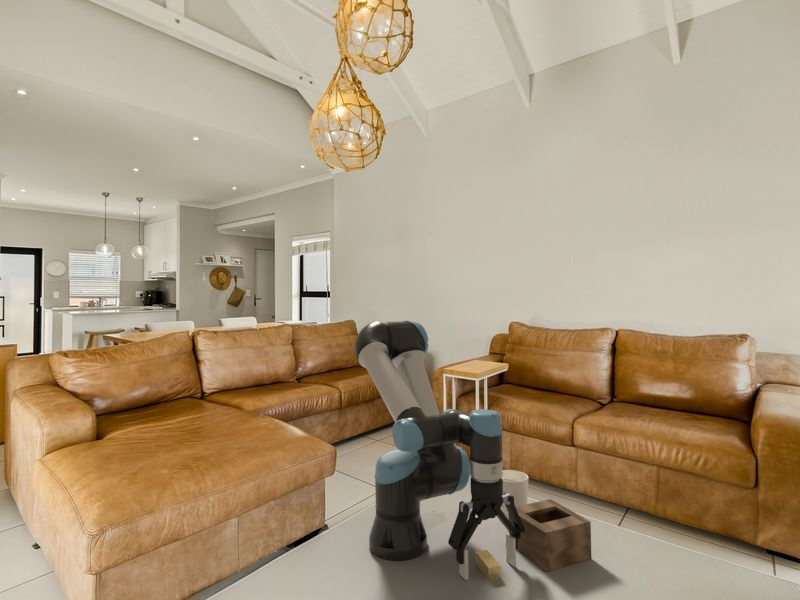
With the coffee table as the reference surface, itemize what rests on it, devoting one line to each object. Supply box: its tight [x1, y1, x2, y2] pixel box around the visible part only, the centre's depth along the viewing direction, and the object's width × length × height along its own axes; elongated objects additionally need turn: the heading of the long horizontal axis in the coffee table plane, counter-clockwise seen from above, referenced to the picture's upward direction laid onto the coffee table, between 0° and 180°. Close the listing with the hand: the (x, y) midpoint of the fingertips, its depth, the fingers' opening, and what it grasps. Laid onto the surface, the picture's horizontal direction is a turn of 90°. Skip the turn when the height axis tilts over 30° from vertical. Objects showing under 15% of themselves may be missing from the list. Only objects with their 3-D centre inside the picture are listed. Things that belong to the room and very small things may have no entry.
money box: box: [508, 498, 593, 573], centre depth 110 cm, size 14×14×9 cm
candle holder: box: [500, 469, 529, 520], centre depth 129 cm, size 10×10×12 cm
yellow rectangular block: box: [475, 549, 502, 581], centre depth 102 cm, size 3×7×3 cm, turn 15°
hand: (488, 569), depth 102 cm, fingers open, 12 cm apart
